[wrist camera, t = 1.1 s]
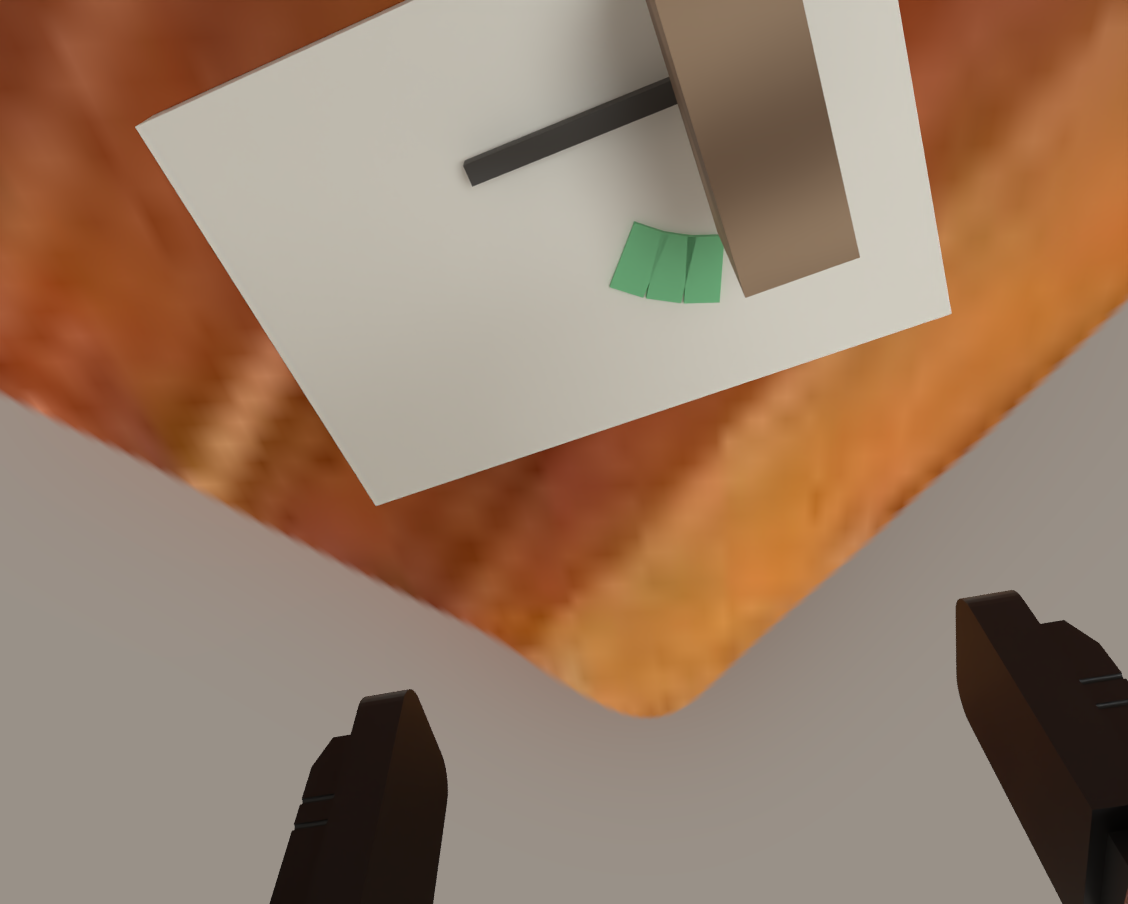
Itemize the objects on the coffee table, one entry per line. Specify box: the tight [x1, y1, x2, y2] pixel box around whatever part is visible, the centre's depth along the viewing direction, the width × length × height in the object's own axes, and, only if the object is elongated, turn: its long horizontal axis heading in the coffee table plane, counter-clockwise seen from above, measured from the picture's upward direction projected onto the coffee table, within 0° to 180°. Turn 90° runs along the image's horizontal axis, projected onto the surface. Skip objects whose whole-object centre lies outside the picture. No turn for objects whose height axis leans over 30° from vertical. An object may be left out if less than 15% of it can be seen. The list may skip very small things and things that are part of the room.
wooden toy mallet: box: [463, 0, 860, 298], centre depth 25 cm, size 8×10×7 cm
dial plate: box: [135, 0, 951, 506], centre depth 31 cm, size 16×23×2 cm
